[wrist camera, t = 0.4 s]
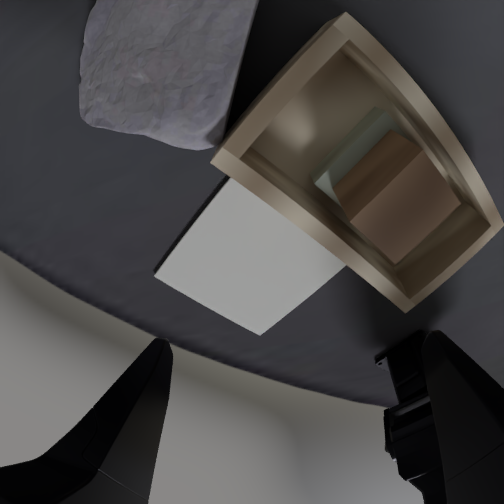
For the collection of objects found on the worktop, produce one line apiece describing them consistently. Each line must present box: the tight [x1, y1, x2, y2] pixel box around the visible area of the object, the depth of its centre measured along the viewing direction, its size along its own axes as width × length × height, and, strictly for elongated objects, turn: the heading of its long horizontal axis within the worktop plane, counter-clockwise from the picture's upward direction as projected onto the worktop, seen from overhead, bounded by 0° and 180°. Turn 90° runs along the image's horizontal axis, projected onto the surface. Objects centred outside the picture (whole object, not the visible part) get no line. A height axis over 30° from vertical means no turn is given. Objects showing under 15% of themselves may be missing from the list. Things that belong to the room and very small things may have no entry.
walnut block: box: [332, 129, 461, 264], centre depth 15 cm, size 4×5×4 cm
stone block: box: [79, 0, 259, 150], centre depth 14 cm, size 12×5×10 cm
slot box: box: [210, 12, 504, 313], centre depth 17 cm, size 17×10×4 cm, turn 51°
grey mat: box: [154, 177, 346, 335], centre depth 24 cm, size 11×11×1 cm
